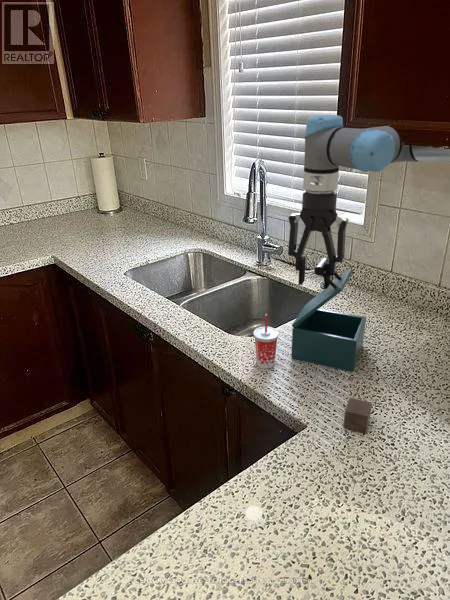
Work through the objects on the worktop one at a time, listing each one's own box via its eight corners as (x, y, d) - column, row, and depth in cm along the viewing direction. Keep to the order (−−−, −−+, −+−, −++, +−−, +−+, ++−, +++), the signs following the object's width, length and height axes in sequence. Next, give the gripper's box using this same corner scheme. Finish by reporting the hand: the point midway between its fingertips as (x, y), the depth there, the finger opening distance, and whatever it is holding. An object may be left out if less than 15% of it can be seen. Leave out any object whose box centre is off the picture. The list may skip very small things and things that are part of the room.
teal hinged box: (362, 346, 118) (366, 317, 114) (353, 372, 108) (356, 341, 104) (305, 334, 124) (306, 306, 120) (291, 358, 114) (292, 328, 110)
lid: (353, 270, 110) (332, 248, 110) (342, 290, 100) (319, 266, 100) (307, 306, 120) (288, 286, 120) (293, 328, 110) (272, 306, 110)
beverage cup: (282, 365, 112) (284, 316, 105) (263, 373, 109) (263, 323, 103) (268, 353, 116) (268, 306, 110) (248, 361, 114) (248, 313, 107)
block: (369, 419, 93) (372, 402, 91) (365, 434, 90) (368, 416, 88) (347, 414, 95) (349, 397, 93) (343, 427, 91) (345, 410, 89)
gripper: (274, 191, 100) (272, 284, 111) (359, 197, 93) (349, 297, 103) (285, 183, 106) (282, 273, 117) (365, 189, 99) (355, 284, 109)
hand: (314, 284), depth 110 cm, fingers open, 6 cm apart
